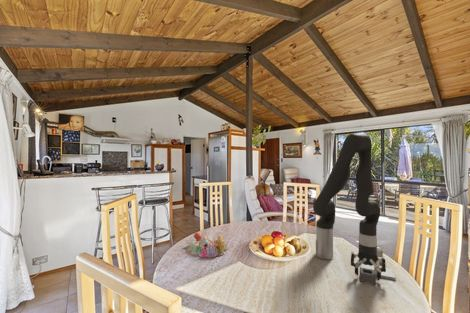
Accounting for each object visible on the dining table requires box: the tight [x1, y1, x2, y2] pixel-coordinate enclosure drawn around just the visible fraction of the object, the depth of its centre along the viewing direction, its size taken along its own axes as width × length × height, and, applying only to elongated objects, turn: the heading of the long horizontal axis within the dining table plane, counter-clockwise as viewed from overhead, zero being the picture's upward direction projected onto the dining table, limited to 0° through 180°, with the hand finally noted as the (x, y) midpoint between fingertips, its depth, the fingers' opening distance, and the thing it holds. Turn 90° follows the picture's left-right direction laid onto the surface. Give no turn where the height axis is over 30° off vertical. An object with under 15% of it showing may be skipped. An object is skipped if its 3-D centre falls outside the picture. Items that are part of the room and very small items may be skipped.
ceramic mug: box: [377, 247, 384, 263], centre depth 129 cm, size 11×8×8 cm
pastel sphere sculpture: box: [187, 232, 228, 259], centre depth 141 cm, size 25×24×9 cm
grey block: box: [359, 266, 377, 285], centre depth 107 cm, size 6×6×4 cm
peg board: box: [359, 260, 397, 281], centre depth 114 cm, size 14×10×7 cm
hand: (367, 277), depth 107 cm, fingers open, 8 cm apart
